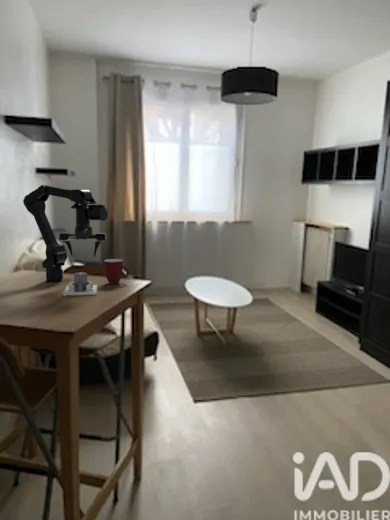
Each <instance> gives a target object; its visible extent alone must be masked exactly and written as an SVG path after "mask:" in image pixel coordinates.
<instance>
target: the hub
mask: <svg viewBox="0 0 390 520" xmlns="http://www.w3.org/2000/svg"><path fill="white" fill-rule="evenodd" d="M97 292H98V284H93V282H92V281H89V280H87V285H85V290H82V291H78V290H76V285H74V281H72V282H69V283H68V285H66V287H65V289H64V290H63V296H64V297H67V296H66V295H70V296H71V295H72V296H95V295H97Z"/></svg>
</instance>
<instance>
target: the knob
mask: <svg viewBox="0 0 390 520" xmlns="http://www.w3.org/2000/svg"><path fill="white" fill-rule="evenodd" d="M87 281H88V273H87V272H83V271H81V272H80V271H79V272H74V273H73V282H74V285H76V290H78V291H82V290H85V285H87Z"/></svg>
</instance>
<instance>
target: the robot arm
mask: <svg viewBox="0 0 390 520" xmlns="http://www.w3.org/2000/svg"><path fill="white" fill-rule="evenodd" d="M50 196H54V197H59V198H64V199H67V200H70V201H71V202H73V203H74V204H73V205H72V206H71V207H70V209H74V210H75V228H74V233H71V231H70V232H69V231H68V232H67V231H62V232H60V233H59V235H58V240H59V241H62V242H63V243H64V244H66V246H67V248H68V250H69V253H70V256H71V257H74V248H73V239H75V240H85V241H86V240H89V239H90V240H91V239H93V240H95V241H94V252H93V258H94V257H95V258H96V255H97V253H98V249H99V246H100V244H101V243H103V242H105V241H106V240H107V233H106V232H96V233H94V231H93V227H92V226H91V221H99V222H105V221H106V220H107V219H108V217H109V213H108V210H107V208H106V207H105V204H101V203H99V204H98V202H96V200H95V199H94V196H93V194H92V192H91V190H89V189H83V188H82V189H78V188H77V189H70V188H65V187H61V186H60V187H59V186H54V185H50V184H41V185H39V187H37V188H36V189H35V190H32V191H31V192H29V193H28V194H26V195H25V196H24V197H23V201H22V203H23V205H24V207H25V209H26V210H27V212H29V214H31V215H32V216H33V217H34V220H35V223H36V225H37V227H38V230H39V232H40V234H41V237H42V239H43V242H44V244H45V257H46V258H45V259H44V260H43V261H42V263H41V266H42V268H43V269H45V277H46V279H45V283H46V282H47V283H48V282H49V283H51V282H54V283H56V282H62V281H63V280H64V269H63V268H62V267H63V266H65V264H66V261H67V259H68V251H67V250H66V247H65V245H64V244H60V243H59V242H58V241H57V238H56V236H55V233H54V232H53V228H52V226H51V224H50V221H49V219H48V216H47V214H46V208H47V207H46V206H47V205H46V201H48V199H49V198H50ZM93 233H94V234H93Z"/></svg>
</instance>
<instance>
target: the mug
mask: <svg viewBox="0 0 390 520" xmlns="http://www.w3.org/2000/svg"><path fill="white" fill-rule="evenodd" d="M124 269H125V270H126V274H125V275H123V270H124ZM103 270H104V274H105V278H106V280H107V282H108V284H110V283H111V284H110V285H117V283H118V284H119V283H120V281H121V279H122V278H123V279H124V278H126V277H128V276H129V274H130V270H129V268H128V266H126V265H124V259H120V258H107V259H104V260H103Z"/></svg>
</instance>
